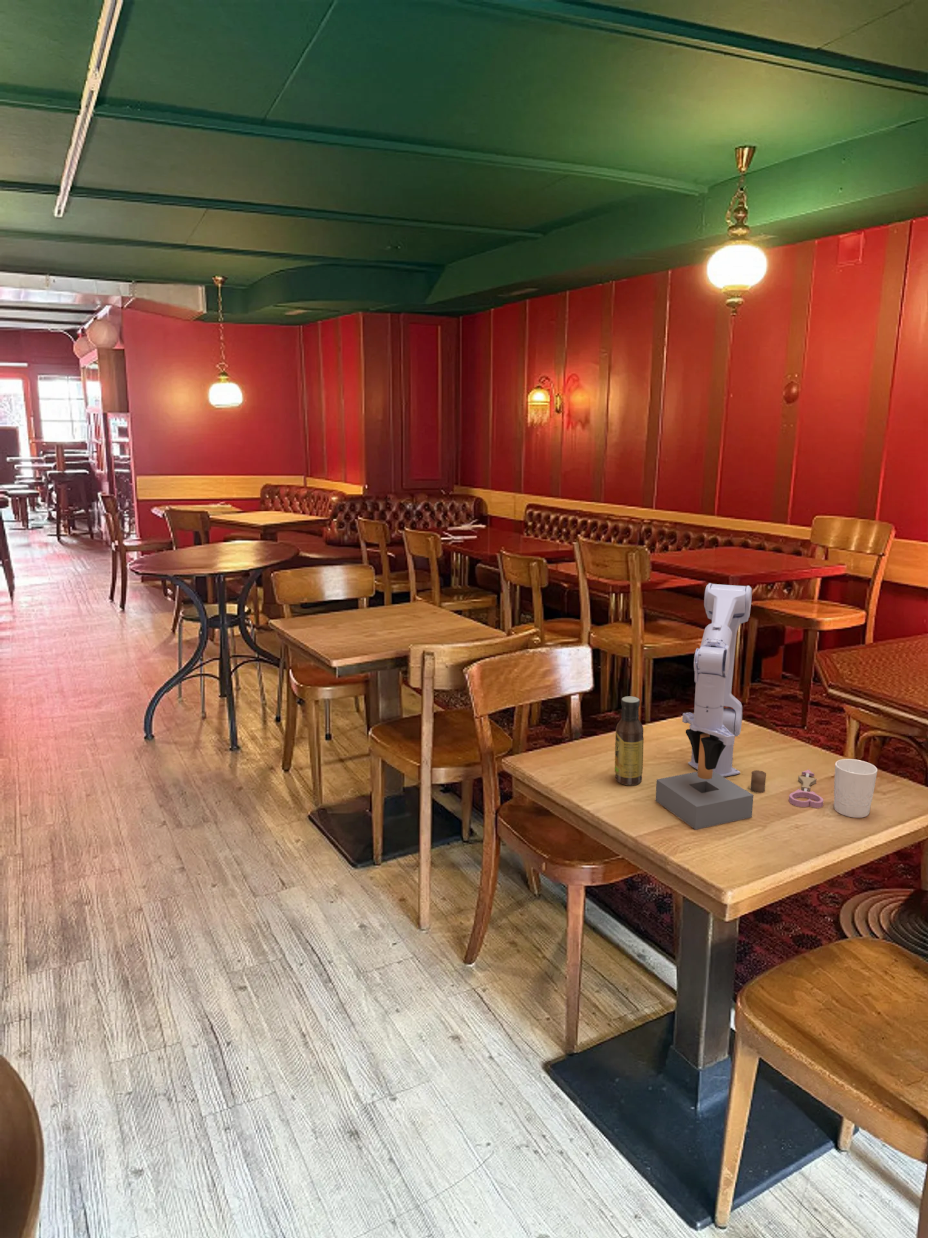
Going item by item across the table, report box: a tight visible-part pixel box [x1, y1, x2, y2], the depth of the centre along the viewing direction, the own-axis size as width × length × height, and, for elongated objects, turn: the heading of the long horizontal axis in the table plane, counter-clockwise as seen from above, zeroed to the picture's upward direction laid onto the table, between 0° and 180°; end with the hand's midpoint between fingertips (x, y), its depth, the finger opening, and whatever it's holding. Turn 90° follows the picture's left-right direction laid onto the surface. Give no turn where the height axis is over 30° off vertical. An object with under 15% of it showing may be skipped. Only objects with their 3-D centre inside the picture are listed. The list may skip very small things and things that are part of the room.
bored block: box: [655, 771, 754, 830], centre depth 172 cm, size 14×14×5 cm
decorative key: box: [788, 768, 824, 809], centre depth 181 cm, size 7×1×20 cm
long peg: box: [697, 733, 713, 779], centre depth 169 cm, size 3×3×9 cm
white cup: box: [833, 758, 878, 819], centre depth 169 cm, size 8×8×10 cm
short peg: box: [750, 770, 767, 794], centre depth 180 cm, size 3×3×4 cm
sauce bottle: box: [614, 695, 645, 786], centre depth 184 cm, size 6×6×20 cm
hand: (705, 765), depth 170 cm, fingers closed on long peg, 3 cm apart
